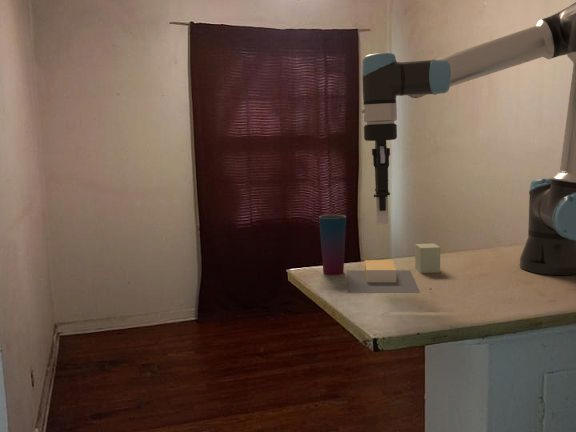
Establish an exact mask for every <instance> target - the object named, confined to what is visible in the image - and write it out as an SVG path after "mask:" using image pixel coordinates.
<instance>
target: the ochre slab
mask: <svg viewBox="0 0 576 432" xmlns="http://www.w3.org/2000/svg"><path fill="white" fill-rule="evenodd" d="M396 270H397V268H396V265H395V263H394V261H393V259H392V260H390V259H389V260H388V259H386V260H385V259H384V260H383V259H382V260H379V259H375V260H374V259H370V260H367V259H366V260H364V271H365V277H366V282H396Z"/></svg>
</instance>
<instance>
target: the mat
mask: <svg viewBox="0 0 576 432" xmlns="http://www.w3.org/2000/svg"><path fill="white" fill-rule="evenodd" d="M346 281H347V282H346V285H347V286H346V289H347V294H352V293H354V294H356V293H357V294H360V293H361V294H371V293H372V294H376V293H377V294H378V293H380V294H382V293H383V294H385V293H386V294H391V293H393V294H394V293H395V294H405V293H406V294H408V293H409V294H413V293H414V294H419V293H421V291H420V289H419V287H418V285H417V283H416V282H417V281H416V280H415V278H414V276H413V274H412V272H411V270H405V269H404V270H402V269H401V270H397V269H396V282H366V277H365V270H346Z"/></svg>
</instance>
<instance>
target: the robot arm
mask: <svg viewBox="0 0 576 432" xmlns="http://www.w3.org/2000/svg"><path fill="white" fill-rule="evenodd" d="M561 56H567V58H568V59H569V60H570V61H571V62H572V64H573V67H572V75H571V82H570V90H569V96H568V106H567V112H566V113H567V114H566V121H565V129H564V136H563V137H564V138H563V143H562V150H561V160H560V166H559V167H560V168H559V171H558V172H556V173H555V174H554V175H553V176H551V178H535V179H533V180H532V181H531V182H530V184H529V190H528V195H529V196H528V197H529V200H528V201H529V204H528V234H527V239H526V243H525V245H524V247H523V250H522V252H521V255H520V258H519V267H520V269H522V270H525V271H526V272H531V273H534V274H535V273H536V274H540V275H548V276H549V275H550V276H551V275H552V276H572V275H576V1H575V2H574V3H572V4H571V5H569V6H567V7H565V8H564V9H562V10H560V11H558V12H557V13H554V14H552V15H550V16H547V17H545V18H542V19H539V20H538V21H537V22H536V24H535V25H533V26H531V27H529V28H526V29H522V30H519V31H516V32H513V33H510V34H508V35H504V36H501V37H498V38H495V39H492V40H490V41H486V42H483V43H481V44H477V45H475V46H471V47H468V48H465V49H463V50H459V51H456V52H453V53H451V54H448V55H445V56H441V57H439V58H434V59H428V60H427V59H426V60H416V61H415V60H413V61H397V59H396V55H395V54H394V53H391V52H380V53H379V52H378V53H371V54H367V55H365V56H364V57H363V58H362V74H361V75H362V77H361V78H362V80H361V81H362V99H363V102H362V103H363V108H362V109H361V110H360V114H364V115H363V121H364V122H365V123H366V124H364V126H363V139H364V140H365V141H366V142H372V141H373V142H374V148H371V156H372V158H373V160H372V161H373V162H372V163H373V167H374V178H375V179H374V181H375V187H374V191H375V193H374V194H373V198H375V212H376V225H389V224H390V223H389V196H390V195H391V192H389V191H390V190H389V167H390V156H391V148H390V147H387V141H394V140H396V139H397V138H398V125H397V123H395V121H397V120H398V113H397V112H398V109H397V108H398V107H397V104H398V103H397V96H399V97H400V96H401V97H402V96H408V97H410V98H413V99H419V98H422V97H424V96H427V95H435V96H436V95H440V94H446V93H448V92H449V90H450V87H453V86H456V85H460V84H463V83H465V82H469V81H473V80H475V79H479V78H482V77H485V76H489V75H491V74H493V73H497V72H500V71H504V70H506V69H509V68H512V67H517V66H519V65H522V64H525V63H528V62H531V61H534V60H539V59H541V58H545V59H546V60H551V59H554V58H557V57H561Z"/></svg>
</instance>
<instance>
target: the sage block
mask: <svg viewBox="0 0 576 432" xmlns="http://www.w3.org/2000/svg"><path fill="white" fill-rule="evenodd" d="M414 246H415V247H414V269H415V270H416V271H417V272H419V274H429V273H441V246H439V245H437V244H436V243H435V242H434V243H432V242H431V243H415V245H414Z"/></svg>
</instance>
